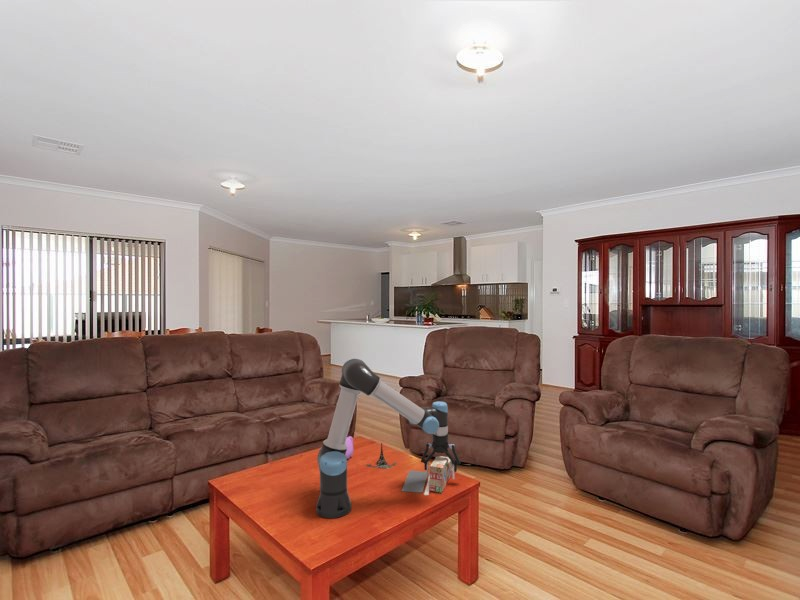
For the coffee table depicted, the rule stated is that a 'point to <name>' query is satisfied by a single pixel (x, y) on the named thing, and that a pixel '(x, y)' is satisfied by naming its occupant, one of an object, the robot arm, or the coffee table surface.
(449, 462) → the stack of blocks
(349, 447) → the teapot
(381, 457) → the eiffel tower figurine
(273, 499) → the coffee table surface
